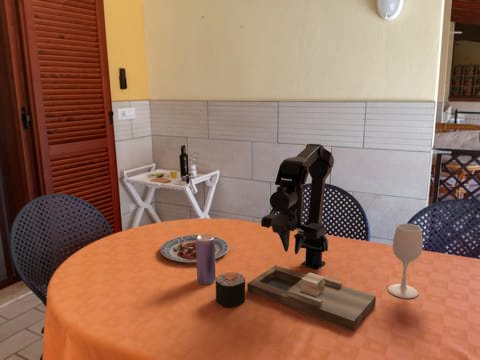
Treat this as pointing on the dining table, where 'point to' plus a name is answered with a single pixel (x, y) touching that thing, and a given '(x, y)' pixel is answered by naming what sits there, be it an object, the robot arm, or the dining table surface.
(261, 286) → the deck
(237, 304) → the sushi
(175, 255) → the ceramic plate
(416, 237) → the wineglass
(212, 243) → the beverage can
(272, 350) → the dining table surface
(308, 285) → the block
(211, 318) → the dining table surface
